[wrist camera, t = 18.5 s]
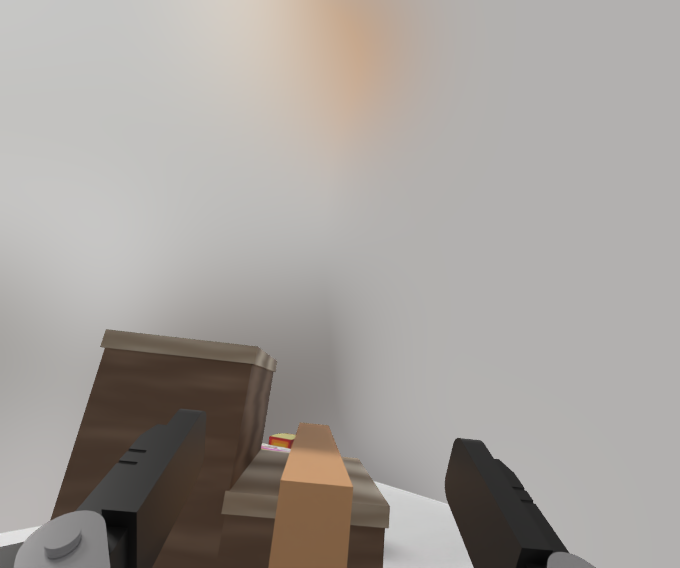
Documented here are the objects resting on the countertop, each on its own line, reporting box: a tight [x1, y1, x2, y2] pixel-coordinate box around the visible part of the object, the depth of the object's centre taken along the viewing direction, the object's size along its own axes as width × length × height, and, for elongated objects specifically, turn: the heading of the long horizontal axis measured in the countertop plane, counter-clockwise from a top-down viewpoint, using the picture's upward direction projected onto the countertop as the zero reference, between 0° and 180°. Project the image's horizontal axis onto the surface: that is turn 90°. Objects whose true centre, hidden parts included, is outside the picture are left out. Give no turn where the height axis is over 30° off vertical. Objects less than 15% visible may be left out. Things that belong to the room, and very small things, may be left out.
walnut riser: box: [50, 330, 390, 568], centre depth 25 cm, size 14×20×32 cm
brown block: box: [268, 423, 353, 568], centre depth 23 cm, size 22×3×3 cm, turn 5°
